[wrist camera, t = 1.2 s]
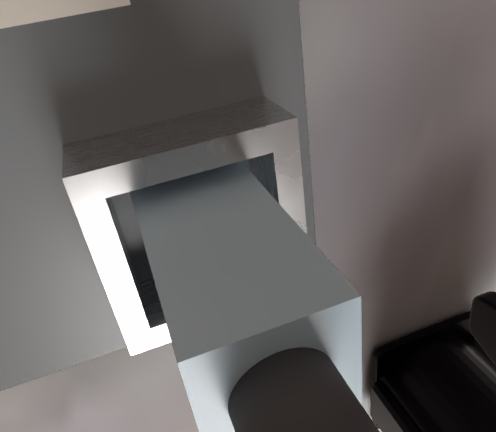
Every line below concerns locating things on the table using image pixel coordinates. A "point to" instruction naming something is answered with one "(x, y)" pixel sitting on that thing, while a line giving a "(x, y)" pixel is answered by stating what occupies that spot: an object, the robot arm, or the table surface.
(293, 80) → the panel board
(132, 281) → the hollow square tube
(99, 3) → the port block
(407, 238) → the table surface
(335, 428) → the plug
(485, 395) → the robot arm
